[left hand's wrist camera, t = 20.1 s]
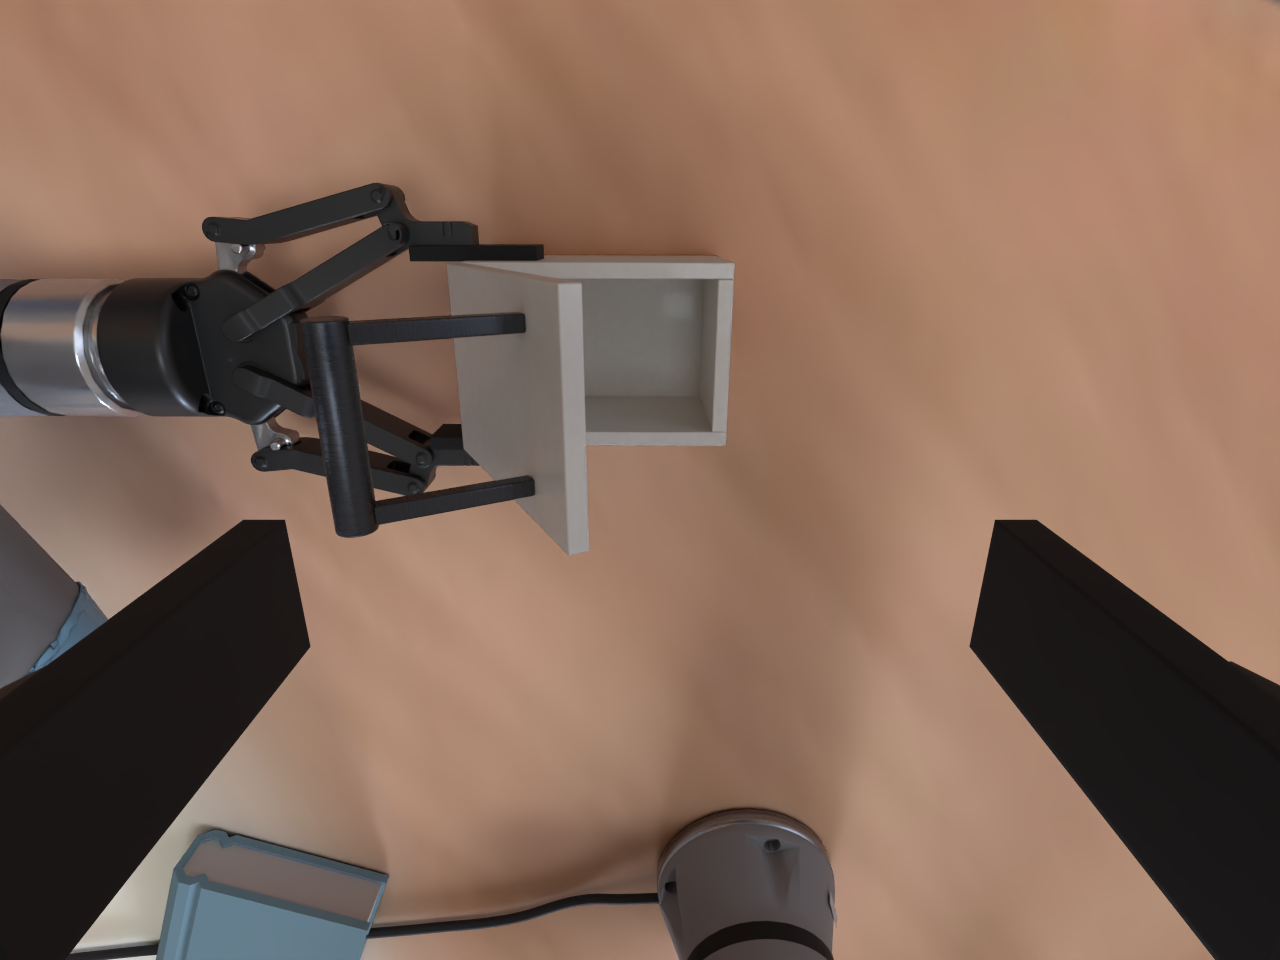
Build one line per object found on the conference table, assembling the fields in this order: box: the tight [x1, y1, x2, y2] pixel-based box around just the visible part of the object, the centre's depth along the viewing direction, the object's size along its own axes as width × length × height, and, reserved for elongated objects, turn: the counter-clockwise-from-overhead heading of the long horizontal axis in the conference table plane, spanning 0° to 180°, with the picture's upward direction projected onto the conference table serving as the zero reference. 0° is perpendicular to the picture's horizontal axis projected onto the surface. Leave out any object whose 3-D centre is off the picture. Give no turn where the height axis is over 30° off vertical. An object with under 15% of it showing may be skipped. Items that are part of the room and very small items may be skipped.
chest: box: [458, 255, 735, 446], centre depth 39 cm, size 14×10×9 cm
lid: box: [300, 262, 589, 555], centre depth 27 cm, size 14×10×8 cm
